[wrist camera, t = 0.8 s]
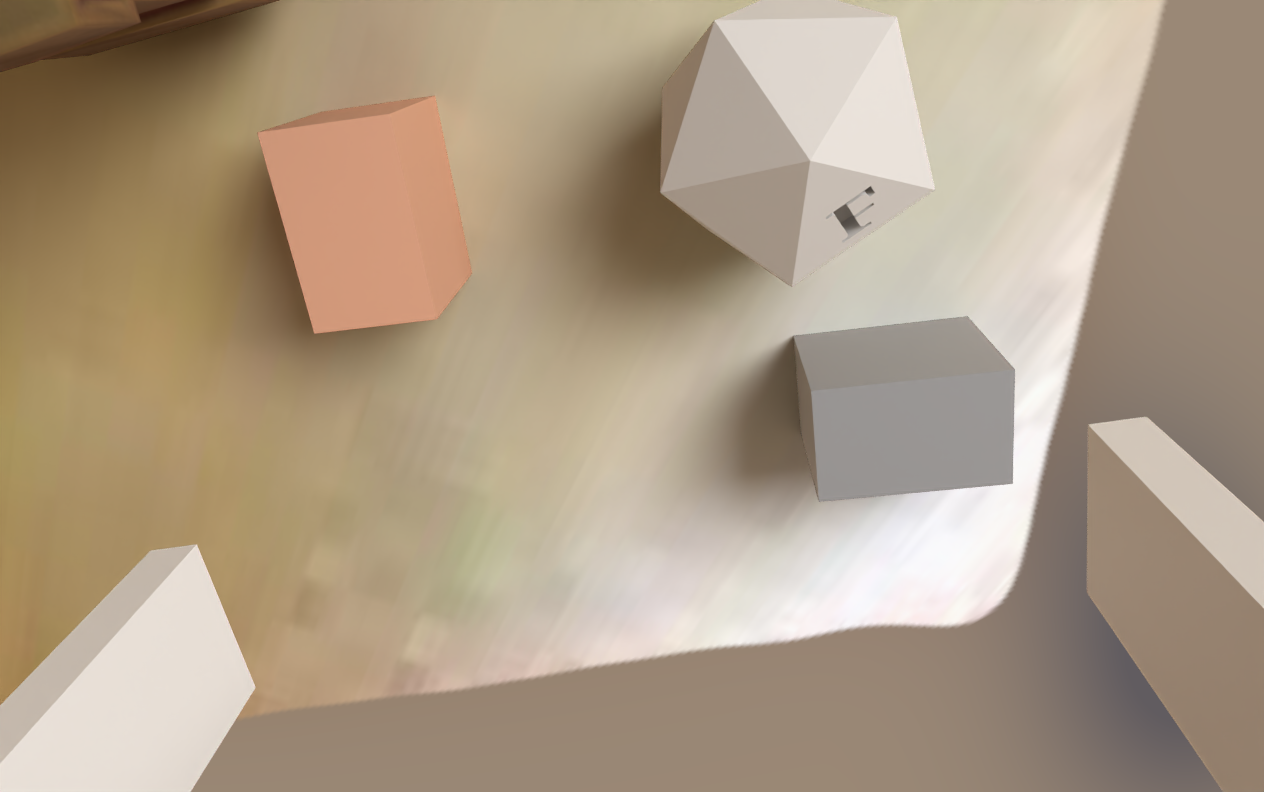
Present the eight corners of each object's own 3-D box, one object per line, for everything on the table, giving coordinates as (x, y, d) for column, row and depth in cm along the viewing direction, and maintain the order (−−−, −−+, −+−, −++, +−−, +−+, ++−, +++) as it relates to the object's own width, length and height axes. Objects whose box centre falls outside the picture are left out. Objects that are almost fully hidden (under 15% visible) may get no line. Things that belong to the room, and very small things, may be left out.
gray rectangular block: (793, 335, 39) (811, 390, 33) (967, 315, 38) (1014, 369, 32) (800, 433, 40) (818, 501, 35) (967, 416, 40) (1012, 483, 34)
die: (750, 275, 38) (772, 365, 29) (615, 89, 35) (592, 122, 26) (937, 145, 35) (1026, 198, 26) (807, -64, 33) (855, -87, 24)
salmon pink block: (322, 111, 36) (257, 132, 31) (435, 95, 36) (389, 113, 30) (366, 285, 39) (314, 333, 33) (472, 272, 38) (436, 319, 33)
